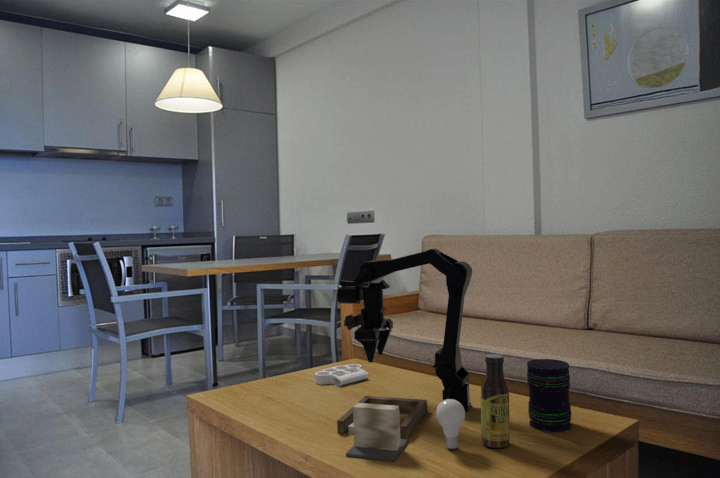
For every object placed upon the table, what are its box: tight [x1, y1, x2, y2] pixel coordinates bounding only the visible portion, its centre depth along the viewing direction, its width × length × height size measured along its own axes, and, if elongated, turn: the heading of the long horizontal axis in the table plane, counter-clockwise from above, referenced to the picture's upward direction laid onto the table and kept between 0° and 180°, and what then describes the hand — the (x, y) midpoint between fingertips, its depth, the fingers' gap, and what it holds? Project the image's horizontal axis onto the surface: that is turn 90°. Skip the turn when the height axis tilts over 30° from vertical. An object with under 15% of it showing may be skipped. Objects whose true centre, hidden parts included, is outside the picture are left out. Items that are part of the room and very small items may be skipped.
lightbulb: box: [435, 399, 466, 450], centre depth 123 cm, size 6×6×11 cm
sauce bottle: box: [480, 353, 511, 449], centre depth 124 cm, size 7×6×20 cm
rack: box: [336, 395, 428, 439], centre depth 142 cm, size 18×20×3 cm
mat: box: [345, 438, 409, 462], centre depth 125 cm, size 11×11×1 cm
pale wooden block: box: [352, 402, 401, 451], centre depth 125 cm, size 10×3×9 cm, turn 70°
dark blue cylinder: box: [526, 358, 572, 433], centre depth 135 cm, size 10×10×15 cm
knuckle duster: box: [314, 363, 370, 387], centre depth 185 cm, size 3×18×15 cm
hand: (375, 358), depth 160 cm, fingers open, 9 cm apart
